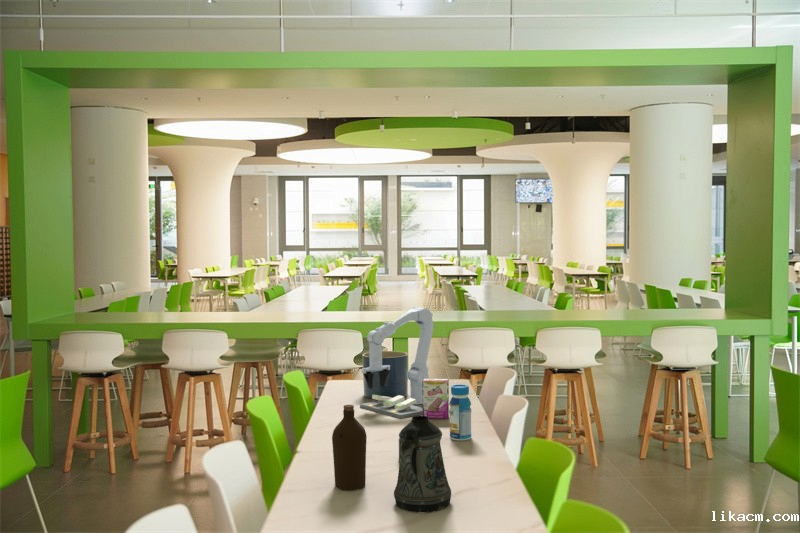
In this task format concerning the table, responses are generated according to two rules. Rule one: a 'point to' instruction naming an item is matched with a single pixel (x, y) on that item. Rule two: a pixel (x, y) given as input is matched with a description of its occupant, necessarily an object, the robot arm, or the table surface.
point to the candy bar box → (435, 398)
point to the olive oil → (349, 452)
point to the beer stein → (421, 469)
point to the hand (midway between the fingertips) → (376, 387)
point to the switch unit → (393, 409)
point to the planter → (389, 375)
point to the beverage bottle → (460, 413)
